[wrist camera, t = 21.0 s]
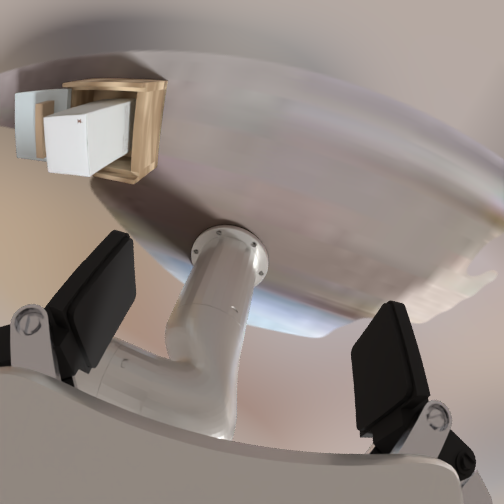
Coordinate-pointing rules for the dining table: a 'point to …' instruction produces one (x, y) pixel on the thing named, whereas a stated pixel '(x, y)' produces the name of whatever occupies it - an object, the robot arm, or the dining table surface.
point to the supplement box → (89, 136)
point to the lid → (36, 119)
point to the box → (145, 121)
